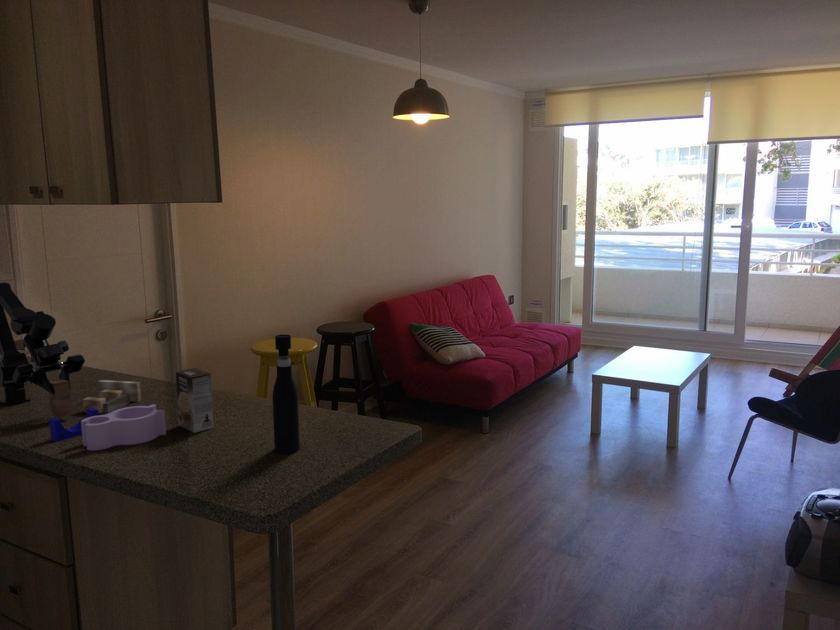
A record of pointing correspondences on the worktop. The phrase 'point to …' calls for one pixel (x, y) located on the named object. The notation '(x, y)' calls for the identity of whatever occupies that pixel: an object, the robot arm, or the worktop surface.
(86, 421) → the purple double cup holder
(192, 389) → the coffee box
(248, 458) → the worktop surface
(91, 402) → the stepped pillar cluster
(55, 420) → the cable clip
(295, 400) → the dark blue water bottle
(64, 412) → the plain brown block
